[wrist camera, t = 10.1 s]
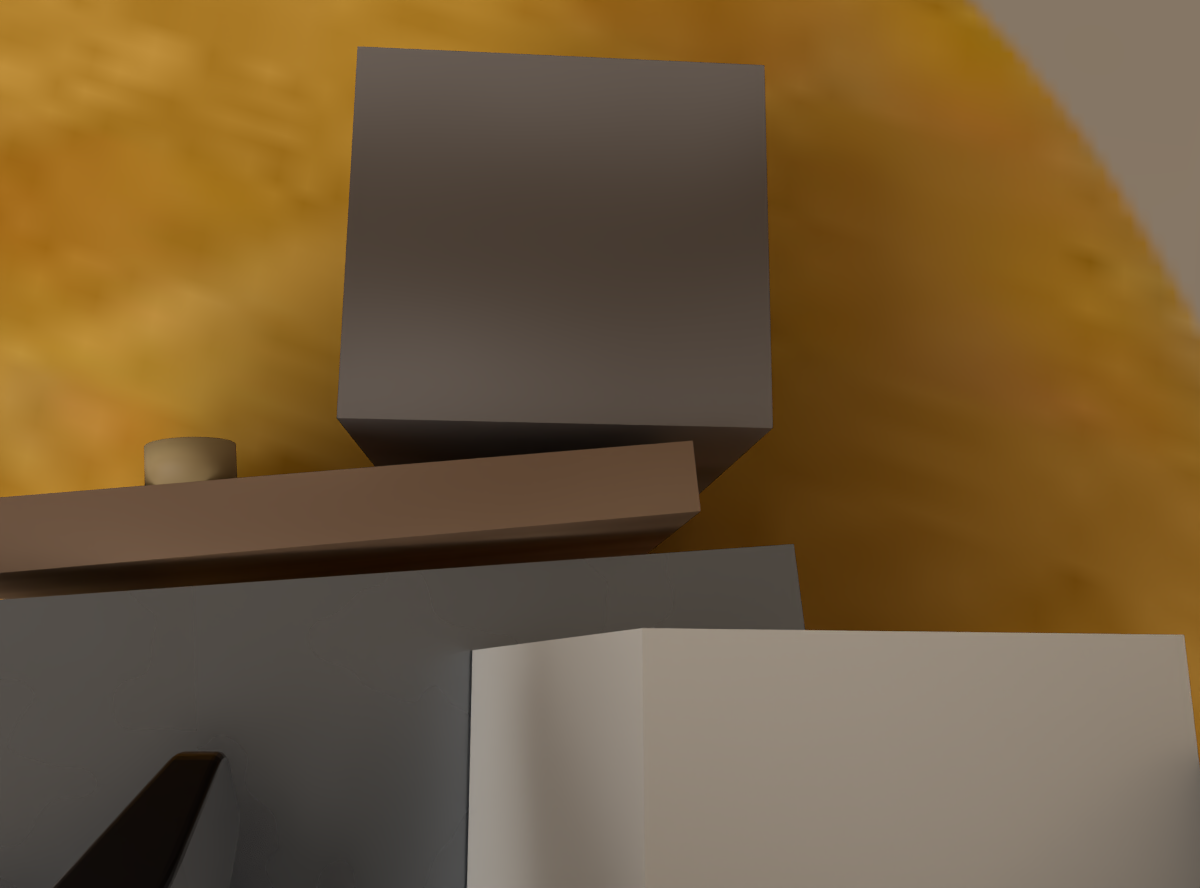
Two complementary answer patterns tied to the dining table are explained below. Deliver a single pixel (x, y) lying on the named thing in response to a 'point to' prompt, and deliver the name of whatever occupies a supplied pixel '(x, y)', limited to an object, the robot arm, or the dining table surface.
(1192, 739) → the off-white block
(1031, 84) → the dining table surface
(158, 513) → the frame
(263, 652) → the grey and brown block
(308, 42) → the dining table surface
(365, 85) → the stand
